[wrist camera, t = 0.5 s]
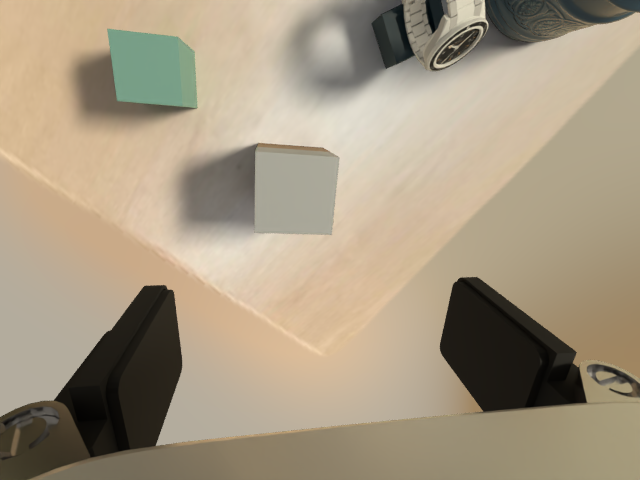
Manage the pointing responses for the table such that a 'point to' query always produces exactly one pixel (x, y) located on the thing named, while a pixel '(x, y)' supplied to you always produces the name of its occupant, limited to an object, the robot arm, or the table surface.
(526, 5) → the canister
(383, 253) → the table surface
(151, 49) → the stack block
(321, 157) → the top block
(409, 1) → the watch
